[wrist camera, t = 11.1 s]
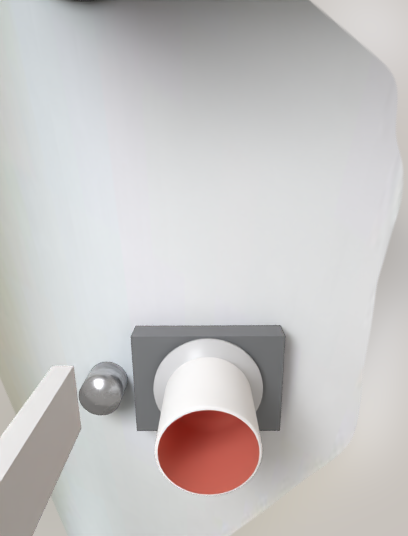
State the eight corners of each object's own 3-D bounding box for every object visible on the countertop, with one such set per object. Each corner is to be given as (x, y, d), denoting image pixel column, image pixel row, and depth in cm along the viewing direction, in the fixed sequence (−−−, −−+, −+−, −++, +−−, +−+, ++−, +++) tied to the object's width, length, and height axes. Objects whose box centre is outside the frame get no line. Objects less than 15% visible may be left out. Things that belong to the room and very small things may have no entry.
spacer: (87, 361, 47) (76, 379, 43) (126, 361, 47) (118, 378, 43) (91, 395, 48) (81, 415, 44) (128, 395, 48) (122, 415, 44)
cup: (267, 383, 43) (285, 445, 33) (215, 439, 45) (217, 513, 35) (200, 335, 41) (198, 387, 32) (149, 396, 44) (133, 461, 34)
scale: (135, 325, 45) (129, 340, 42) (280, 325, 45) (287, 339, 41) (141, 417, 49) (135, 439, 45) (275, 417, 49) (281, 438, 45)
